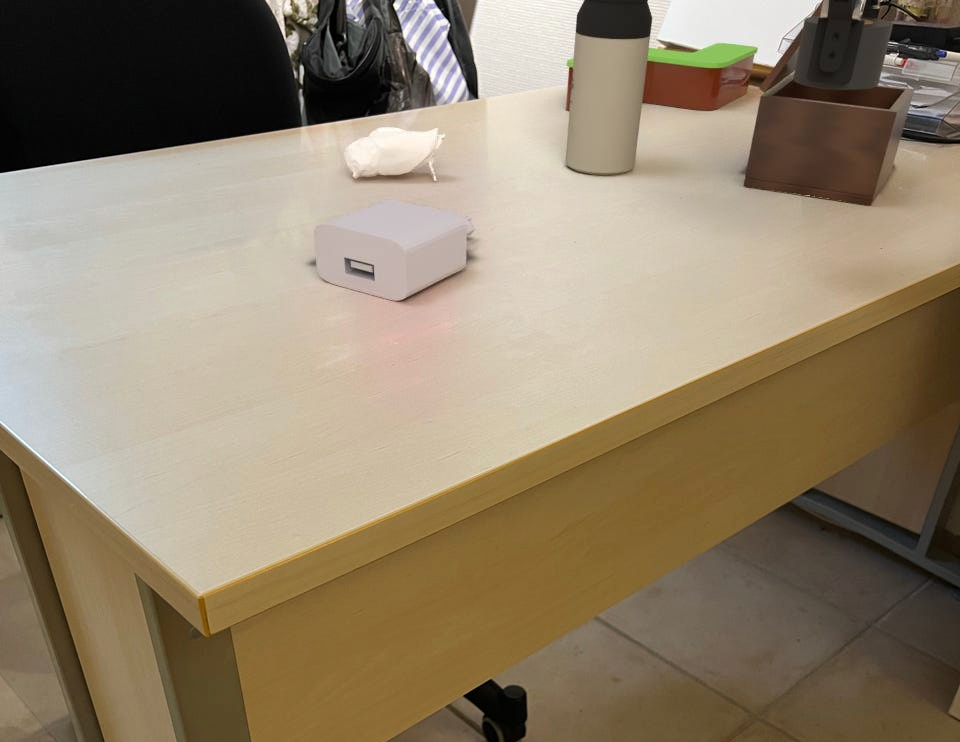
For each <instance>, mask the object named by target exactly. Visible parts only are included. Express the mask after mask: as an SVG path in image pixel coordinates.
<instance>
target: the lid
mask: <svg viewBox="0 0 960 742" xmlns="http://www.w3.org/2000/svg"><path fill="white" fill-rule="evenodd" d="M823 1H824V0H821V1H820V3H819V5H818V6H817V7H816V9H815V10H814V11H813V13H812V14H811V15H810V17H814V16H820V15H821V9H822V5H823ZM802 31H803V27H802V28H801V29H800V31H799V32H798V33H797V35H796V36H795V37H794V39H793V40H792V42H791V43H790V44H789V45H788V47H787V48H786V50H785V52H784V53H783V54H782V55H781V57H780V58H779V60H778V61H777V62H776V64H774V66H773V68H772V69H771V71H770V72H769V73H768V75H767V76H766V78H765V79H764V80H763V82H762V83H761V84H760V86H758V87H759V90H761V91H762V92H763V94H764V93H766V92H767V91H768V90H770V89H771V88H772V87H774V86H775V85H777V84H778V83H779V82H781V81H782V80H784V79H785V78H786V77H788V76H789V75H792V74H794V72H795V67H796V62H797V56H798V51H799V46H800V41H801V36H802Z"/></svg>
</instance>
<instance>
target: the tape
mask: <svg viewBox="0 0 960 742" xmlns="http://www.w3.org/2000/svg"><path fill="white" fill-rule="evenodd" d="M819 17H820V16H814V17H811V16H809V17H806V18H804V21H803V26H802V28H803V31H802V36H801V41H800V46H799V51H798V56H797V62H796V67H795V71H794V72H793V76H794V77H793V80H794V81H795V82H797V83H799V84H802V85H806V86H810V87H816V88H824V89H835V90H861V89H869V88H873V87H876V86H877V85H880V84H879V83H880V79H881V76H882V71H883V66H884V64H885V60H886V55H887V51H888V46H889V42H890V38H891V34H892V31H893V26H894V23H893V22H892V21H890V20H887V19H882V18H878V19H877V18H870V17H861V19H860V20H865V23H864V27H863V32H862V36H861V40H860V45H859V49H858V53H857V58H856V62H855V67H854V71H853V75H852V79H851V81H850V82H849V83H848V84H833V83H822V82H811V81H809V80H808V79H807V73H808V68H809V63H810V58H811V53H812V48H813V43H814V38H815V33H816V28H817V23H818V18H819Z"/></svg>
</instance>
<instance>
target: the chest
mask: <svg viewBox="0 0 960 742" xmlns="http://www.w3.org/2000/svg"><path fill="white" fill-rule="evenodd" d="M793 77H794V74H793V75H792V74H790V75H789V76H787V77H786V78H785V79H783V80H782V81H780V82H779V83H778V84H776V85H775V86H773V87H772V88H771V89H769V90H768V91H766V92H765V93H764V92H763V94H761V95H760V97H759V102H758V107H757V113H756V119H755V124H754V129H753V134H752V139H751V143H750V144H751V145H750V149H749V154H748V158H747V159H748V160H747V165H746V169H745V174H744V180H743V187H744V186H745V188H750V187H751V189H757V188H759V189H758V190H763V189H765V190H764V191H770V190H774V191H773V192H776V191H781V192H780V193H783V192H787V193H786V194H789V193H796V194H801V195H800V196H802V195H810V196H815V197H822V198H829V199H834V200H833V201H835V200H841V201H846V202H845V203H848V202H852V203H851V204H854V203H858V204H857V205H861V204H864V205H863V206H867V205H869V207H870V206H872V205H873V204H874V201H875V200H876V198H878V195H879V194H880V192H881V190H882V189H883V188H884V186H885V185H886V183H887V181H888V179H889V178H890V176H891V173H892V169H893V166H894V162H895V159H896V156H897V153H898V148H899V145H900V141H901V138H902V135H903V132H904V127H905V124H906V120H907V117H908V114H909V110H910V106H911V103H912V100H913V96H914V92H915V88H908V87H899V86H891V85H890V86H889V85H883V84H881V85H880V84H878V85H877V86H876V87H873V88H869V89H861V90H835V89H824V88H816V87H810V86H806V85H802V84H799V83H797V82H795V81H794V80H793ZM796 194H795V195H796ZM815 197H814V198H815ZM822 198H821V199H822ZM841 201H840V202H841Z"/></svg>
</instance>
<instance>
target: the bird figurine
mask: <svg viewBox="0 0 960 742" xmlns="http://www.w3.org/2000/svg"><path fill="white" fill-rule="evenodd" d="M438 133H439V128H438V127H434V128H433V129H430V130H425V131H419V130H418V131H417V130H406V129H402V128H400V127H392V126H381V127H378V128H375V129H374V130H373V131H371V132H370V133H369V135H368V136H362V137H361V138H359V139H356V140H355V141H353V142H350V144H349V145H347V146H346V147H345V149H344V153H343V158H344V161H345V164H346V168H347V169H348V172H350V173H352V177H353V179H355V180H357V179H358V178H360V177H368V178H373V177H377V176H379V175H381V176H400V175H403V174H408V173H410V172H412V171H413V170H417V169H420V168H422V167H424V166H425V165H426V164H427V166H428V171H429V174H430V175H431V176H432V179H433V181H434V182H437V177H436V175H435V166H434V161H435V158H434V156H435V155H436V153H437V152H438V150H439V149H440V147H441V146H442V144H443V142H444V141H445V136H446V131H444V132H443V133H440V134H438Z"/></svg>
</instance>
